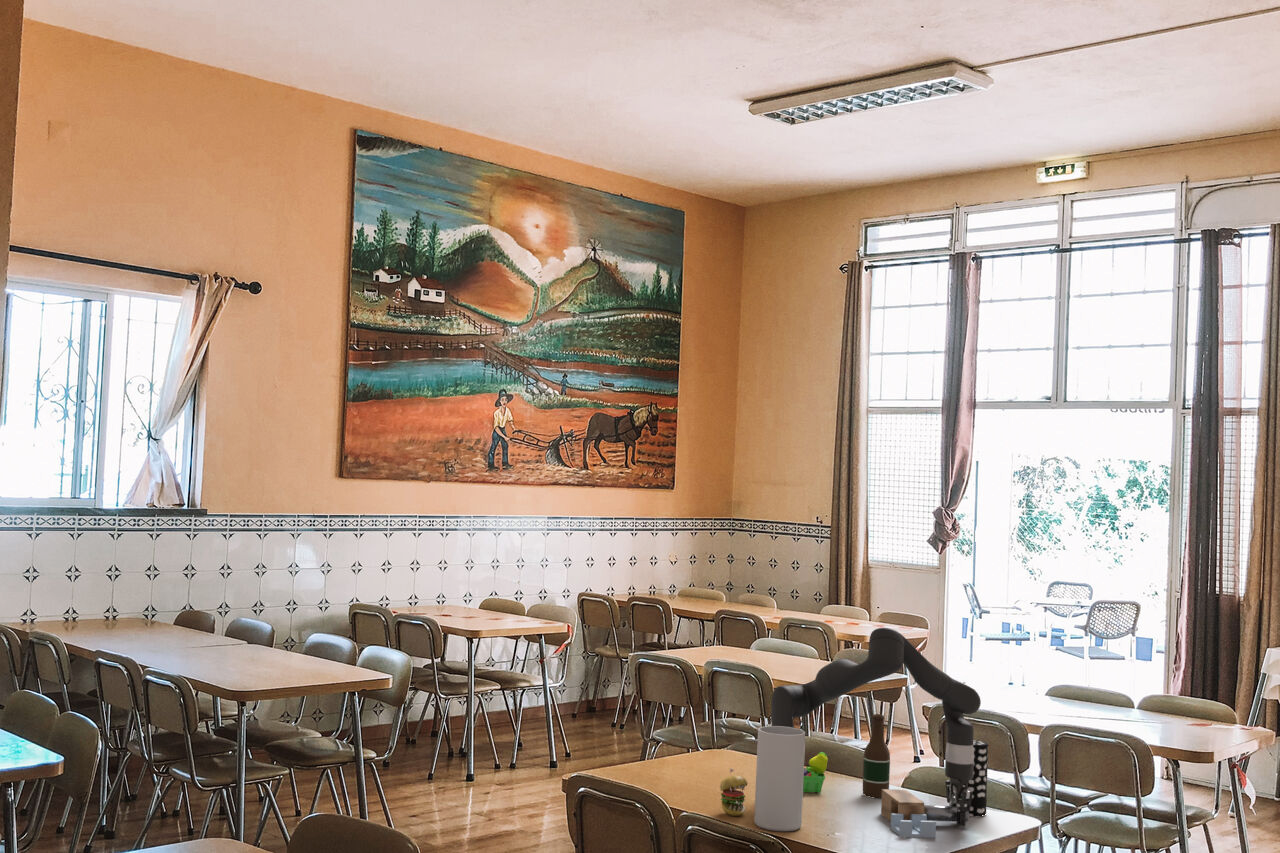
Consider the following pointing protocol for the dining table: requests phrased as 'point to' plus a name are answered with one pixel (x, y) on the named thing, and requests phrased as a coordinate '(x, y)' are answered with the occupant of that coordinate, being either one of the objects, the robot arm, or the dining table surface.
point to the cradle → (913, 826)
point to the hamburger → (733, 795)
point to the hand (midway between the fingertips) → (957, 823)
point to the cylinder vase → (779, 778)
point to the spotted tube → (979, 779)
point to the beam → (900, 804)
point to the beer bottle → (876, 761)
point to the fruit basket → (815, 773)
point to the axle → (942, 813)
